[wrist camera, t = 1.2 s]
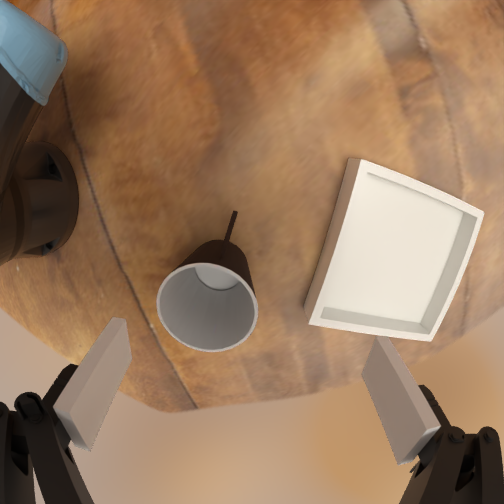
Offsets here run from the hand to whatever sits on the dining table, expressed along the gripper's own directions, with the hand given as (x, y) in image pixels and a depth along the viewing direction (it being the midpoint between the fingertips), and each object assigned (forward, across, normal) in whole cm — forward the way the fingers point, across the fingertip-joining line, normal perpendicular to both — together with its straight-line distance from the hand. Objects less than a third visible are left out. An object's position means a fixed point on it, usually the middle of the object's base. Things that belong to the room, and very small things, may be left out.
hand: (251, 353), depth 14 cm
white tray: (+19, +17, 0) cm, 25 cm away
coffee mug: (+19, -2, -2) cm, 20 cm away
